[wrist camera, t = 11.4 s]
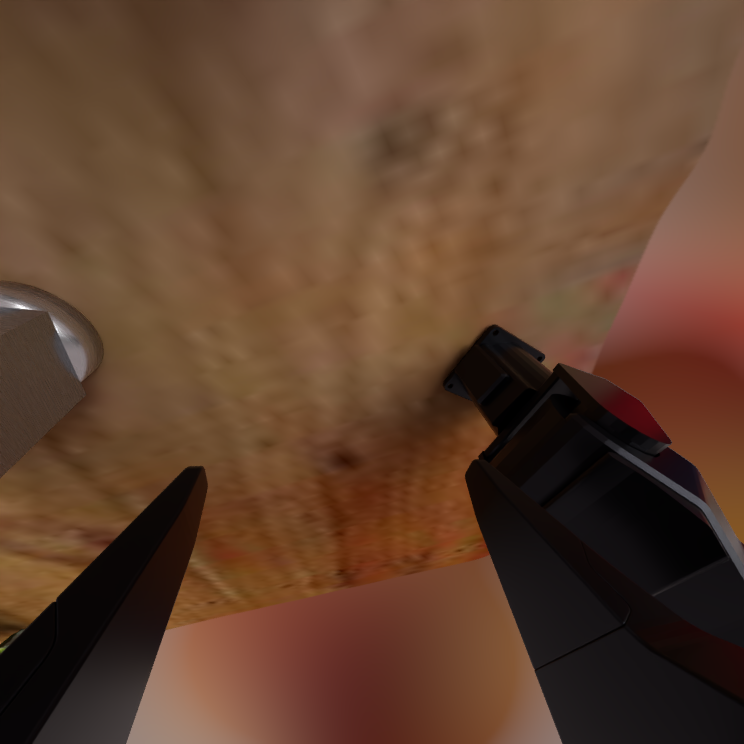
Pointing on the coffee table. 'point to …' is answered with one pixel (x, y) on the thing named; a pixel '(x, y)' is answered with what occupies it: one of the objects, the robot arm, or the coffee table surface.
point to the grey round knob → (31, 381)
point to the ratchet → (59, 324)
